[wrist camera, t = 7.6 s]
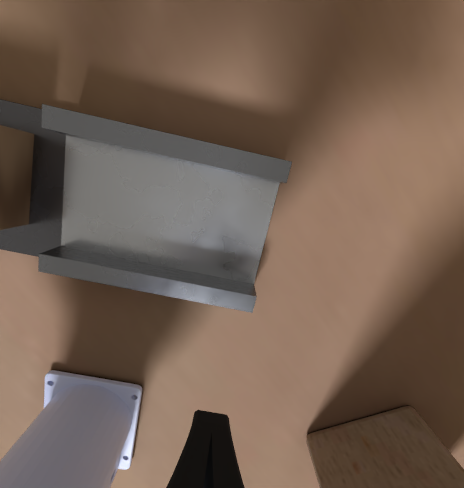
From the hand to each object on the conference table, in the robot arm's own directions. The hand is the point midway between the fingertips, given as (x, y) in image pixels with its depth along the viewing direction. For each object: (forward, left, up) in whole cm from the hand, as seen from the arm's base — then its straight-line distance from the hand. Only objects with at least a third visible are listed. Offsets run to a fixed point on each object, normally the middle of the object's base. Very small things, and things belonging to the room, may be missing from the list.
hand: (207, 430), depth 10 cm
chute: (+7, +10, -9) cm, 15 cm away
